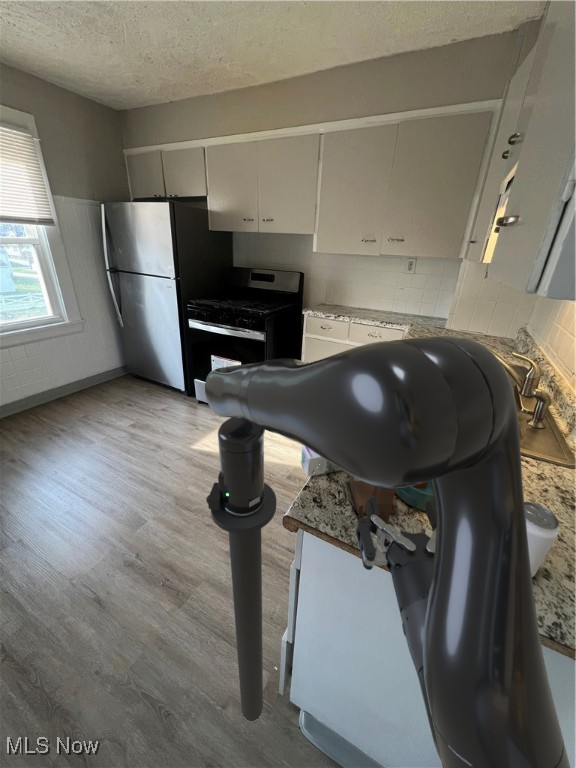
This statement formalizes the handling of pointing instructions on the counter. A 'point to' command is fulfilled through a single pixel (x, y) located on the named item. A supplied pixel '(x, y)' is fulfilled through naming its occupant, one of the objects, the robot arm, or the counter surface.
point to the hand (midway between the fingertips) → (399, 502)
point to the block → (421, 485)
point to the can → (539, 533)
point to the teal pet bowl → (416, 495)
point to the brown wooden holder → (383, 496)
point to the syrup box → (315, 463)
